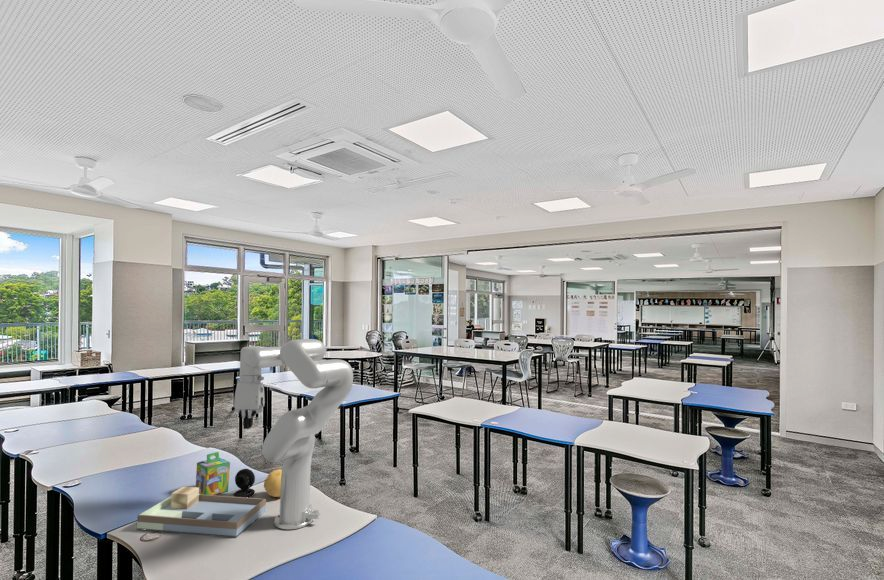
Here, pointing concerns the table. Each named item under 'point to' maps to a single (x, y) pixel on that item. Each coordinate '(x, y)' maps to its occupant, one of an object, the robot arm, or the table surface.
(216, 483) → the chalk box
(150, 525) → the box
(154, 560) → the table surface
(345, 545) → the table surface
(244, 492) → the webcam
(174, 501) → the block
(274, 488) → the stress ball
